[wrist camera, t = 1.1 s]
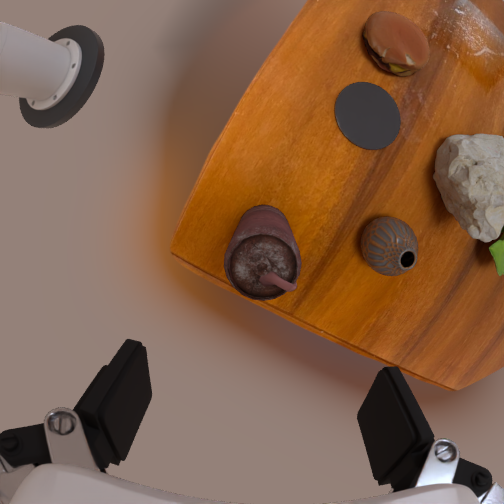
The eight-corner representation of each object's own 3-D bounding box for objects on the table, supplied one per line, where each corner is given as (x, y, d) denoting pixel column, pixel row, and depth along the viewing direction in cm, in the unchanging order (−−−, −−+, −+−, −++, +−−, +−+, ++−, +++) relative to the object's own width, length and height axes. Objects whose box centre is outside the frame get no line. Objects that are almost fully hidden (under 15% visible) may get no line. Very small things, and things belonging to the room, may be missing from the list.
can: (277, 261, 36) (283, 317, 22) (231, 240, 35) (210, 285, 22) (298, 218, 34) (320, 252, 21) (251, 196, 33) (242, 215, 20)
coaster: (330, 141, 31) (331, 140, 30) (337, 75, 28) (338, 74, 28) (395, 157, 31) (397, 156, 30) (401, 93, 28) (402, 93, 28)
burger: (399, 17, 24) (412, 4, 20) (430, 70, 26) (447, 62, 22) (344, 26, 26) (354, 11, 21) (379, 83, 28) (393, 74, 24)
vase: (391, 267, 35) (420, 294, 27) (347, 257, 35) (370, 283, 27) (406, 220, 33) (441, 236, 25) (363, 206, 33) (391, 219, 25)
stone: (497, 122, 25) (563, 177, 14) (492, 177, 32) (543, 238, 21) (419, 130, 29) (487, 195, 18) (420, 192, 36) (467, 267, 25)
